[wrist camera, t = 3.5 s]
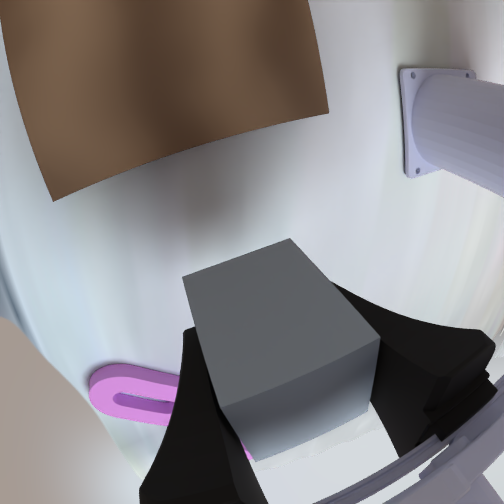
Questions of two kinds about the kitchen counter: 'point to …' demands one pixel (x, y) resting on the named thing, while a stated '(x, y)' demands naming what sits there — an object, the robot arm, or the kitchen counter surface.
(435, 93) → the robot arm
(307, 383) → the slate block
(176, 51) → the walnut board
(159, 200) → the kitchen counter surface
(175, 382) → the bracket
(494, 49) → the kitchen counter surface
